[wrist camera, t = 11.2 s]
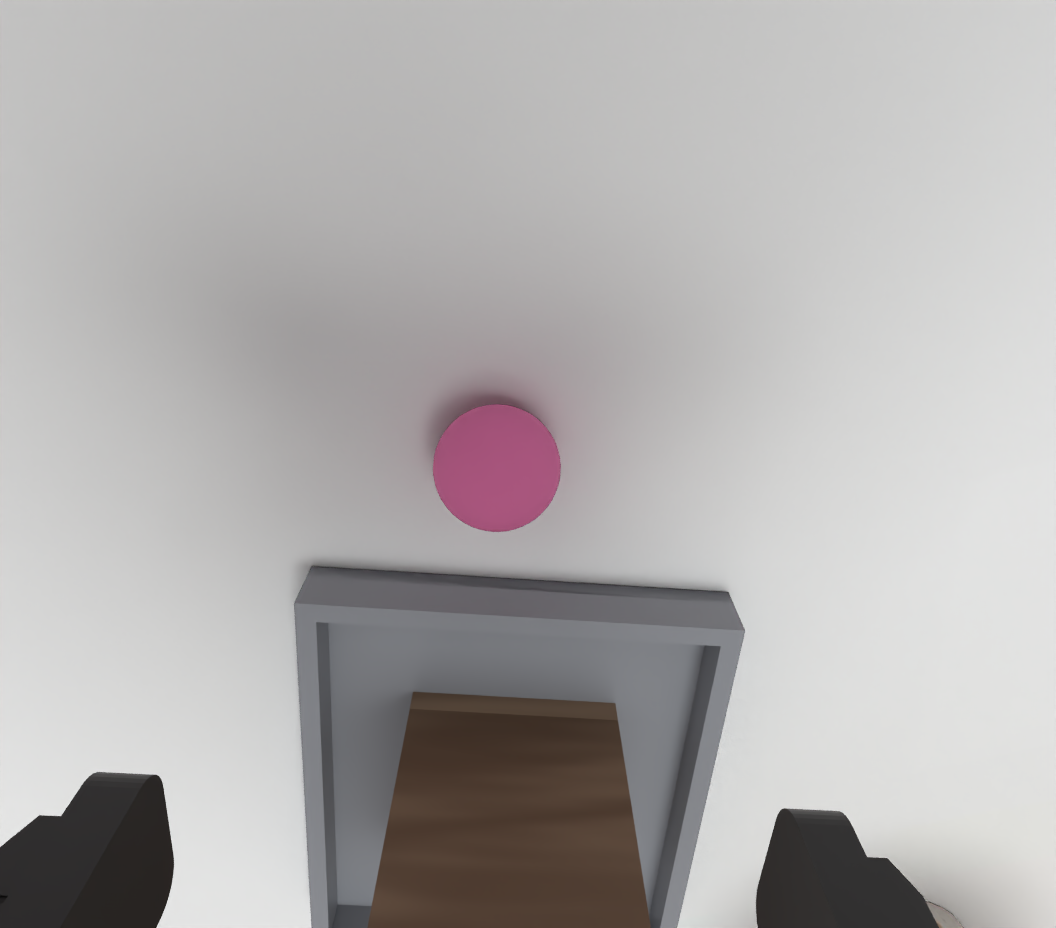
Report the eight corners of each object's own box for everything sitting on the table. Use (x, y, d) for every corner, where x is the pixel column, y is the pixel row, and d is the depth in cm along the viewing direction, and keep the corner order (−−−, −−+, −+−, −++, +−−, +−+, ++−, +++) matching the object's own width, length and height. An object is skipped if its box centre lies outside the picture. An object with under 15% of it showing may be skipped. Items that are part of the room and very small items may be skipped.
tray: (311, 566, 24) (294, 603, 22) (728, 592, 24) (745, 630, 23) (325, 899, 30) (312, 950, 28) (659, 915, 30) (668, 966, 29)
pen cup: (412, 691, 25) (359, 969, 17) (615, 703, 25) (659, 983, 17) (409, 837, 28) (362, 1140, 20) (593, 847, 28) (622, 1149, 20)
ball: (441, 383, 22) (427, 427, 18) (563, 391, 22) (569, 437, 19) (437, 493, 23) (424, 551, 20) (552, 500, 23) (556, 559, 20)
